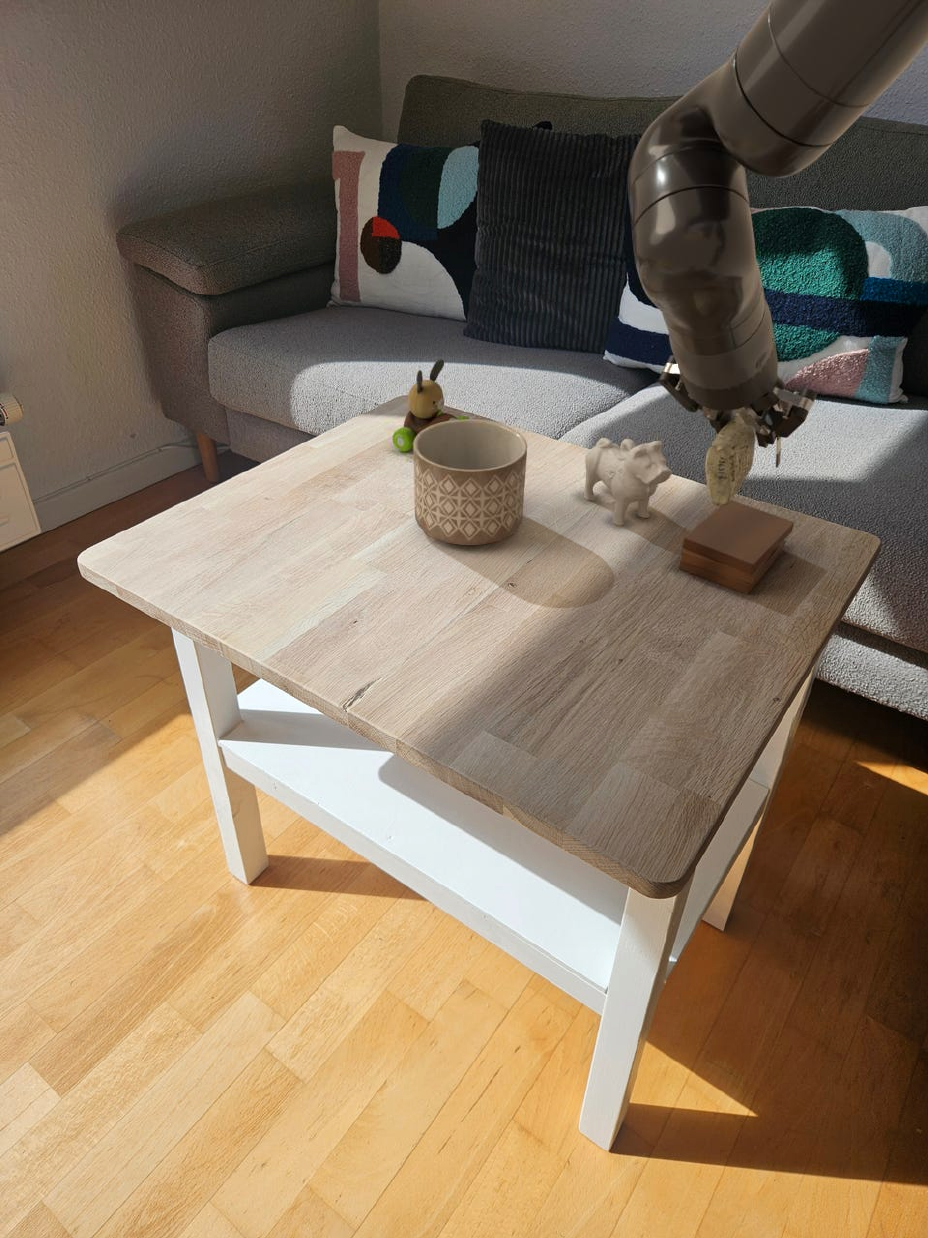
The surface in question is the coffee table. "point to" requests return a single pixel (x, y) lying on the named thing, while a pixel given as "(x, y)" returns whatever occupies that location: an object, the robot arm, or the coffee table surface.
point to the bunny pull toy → (423, 409)
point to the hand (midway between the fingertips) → (745, 431)
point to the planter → (469, 481)
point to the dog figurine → (626, 473)
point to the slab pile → (735, 545)
